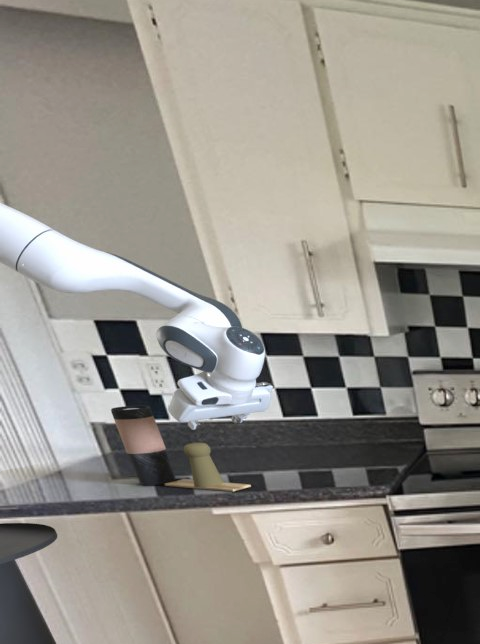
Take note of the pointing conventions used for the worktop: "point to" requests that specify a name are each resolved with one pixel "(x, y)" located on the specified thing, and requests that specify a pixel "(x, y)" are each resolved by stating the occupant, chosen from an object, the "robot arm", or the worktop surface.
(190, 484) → the strip
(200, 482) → the olive green tapered cylinder
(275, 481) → the worktop surface
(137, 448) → the travel mug
